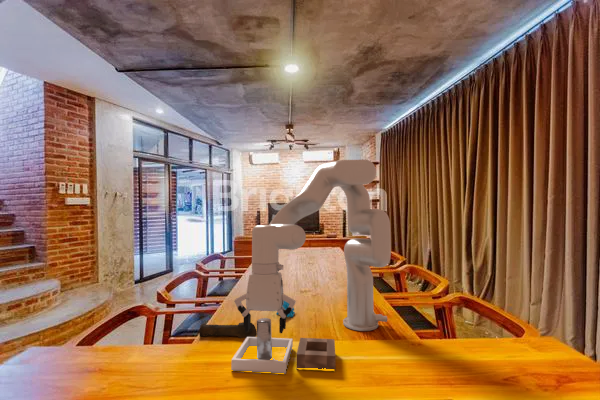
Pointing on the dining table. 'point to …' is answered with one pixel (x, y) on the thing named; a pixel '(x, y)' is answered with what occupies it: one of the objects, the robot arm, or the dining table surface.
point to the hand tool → (227, 330)
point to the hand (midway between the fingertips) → (264, 330)
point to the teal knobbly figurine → (285, 306)
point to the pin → (264, 339)
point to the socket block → (316, 353)
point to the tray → (262, 365)
